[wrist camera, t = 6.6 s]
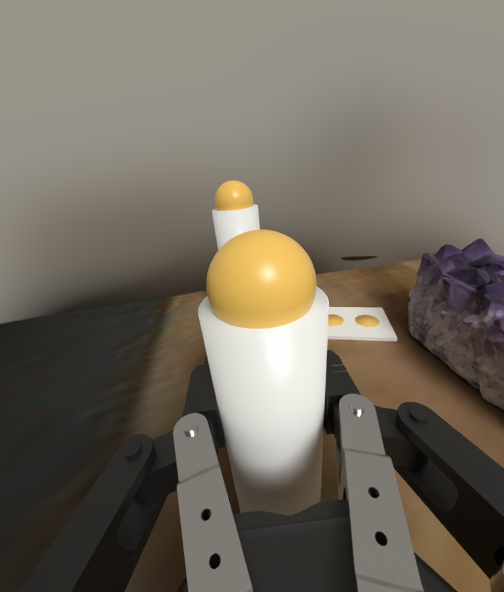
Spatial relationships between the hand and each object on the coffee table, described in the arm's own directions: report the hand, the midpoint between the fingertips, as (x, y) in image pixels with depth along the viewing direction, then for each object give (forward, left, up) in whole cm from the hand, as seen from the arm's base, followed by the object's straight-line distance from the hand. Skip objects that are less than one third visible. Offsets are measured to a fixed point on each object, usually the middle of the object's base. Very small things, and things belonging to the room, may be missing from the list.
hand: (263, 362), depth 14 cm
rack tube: (-8, +13, -6) cm, 17 cm away
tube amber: (+1, -2, -7) cm, 8 cm away
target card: (+2, +17, -7) cm, 18 cm away
